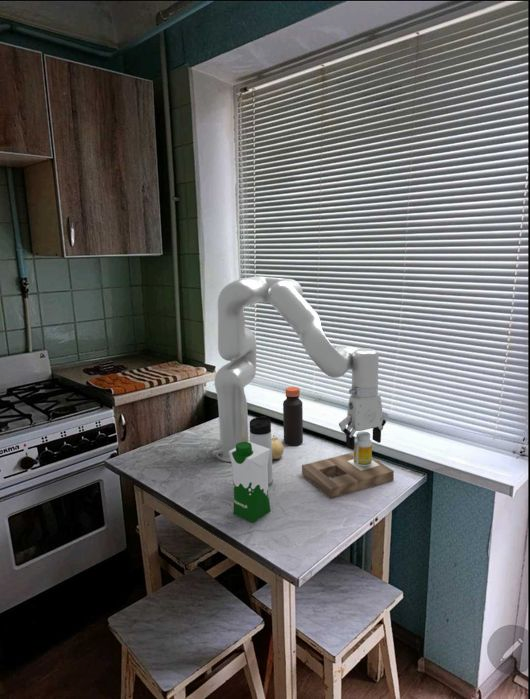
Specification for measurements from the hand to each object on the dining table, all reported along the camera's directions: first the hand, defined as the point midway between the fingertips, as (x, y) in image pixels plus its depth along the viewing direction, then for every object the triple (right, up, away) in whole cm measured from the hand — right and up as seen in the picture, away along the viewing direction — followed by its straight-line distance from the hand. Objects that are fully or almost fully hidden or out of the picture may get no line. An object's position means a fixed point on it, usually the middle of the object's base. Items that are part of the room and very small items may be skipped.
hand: (363, 444), depth 142 cm
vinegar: (-20, -5, +25) cm, 32 cm away
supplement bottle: (0, -6, +1) cm, 6 cm away
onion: (-28, -7, +14) cm, 32 cm away
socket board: (-5, -10, 0) cm, 11 cm away
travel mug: (-31, -11, -2) cm, 33 cm away
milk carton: (-33, -15, -17) cm, 40 cm away
